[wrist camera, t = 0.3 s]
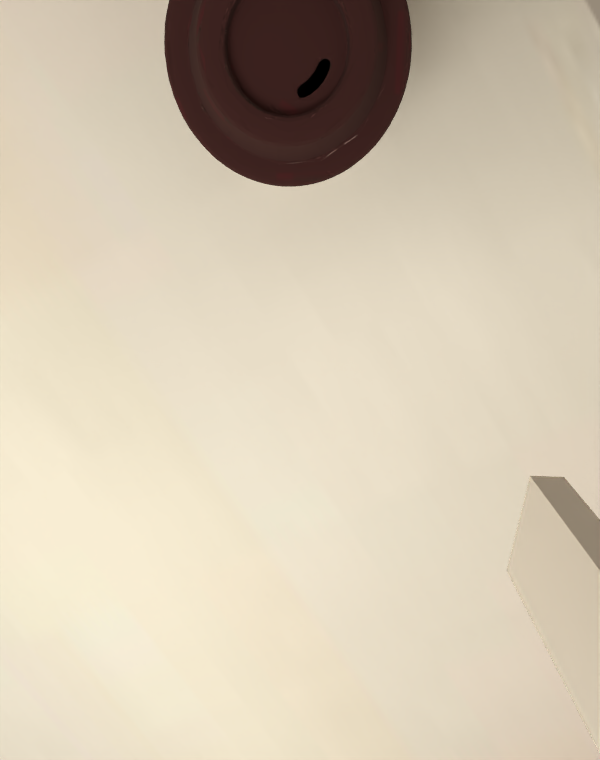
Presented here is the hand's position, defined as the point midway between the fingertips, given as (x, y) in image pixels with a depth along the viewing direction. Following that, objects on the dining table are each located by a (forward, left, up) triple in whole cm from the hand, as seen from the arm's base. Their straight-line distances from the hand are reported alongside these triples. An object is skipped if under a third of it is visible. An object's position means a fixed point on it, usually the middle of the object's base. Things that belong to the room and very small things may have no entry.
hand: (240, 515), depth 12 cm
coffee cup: (-12, +1, -28) cm, 30 cm away
